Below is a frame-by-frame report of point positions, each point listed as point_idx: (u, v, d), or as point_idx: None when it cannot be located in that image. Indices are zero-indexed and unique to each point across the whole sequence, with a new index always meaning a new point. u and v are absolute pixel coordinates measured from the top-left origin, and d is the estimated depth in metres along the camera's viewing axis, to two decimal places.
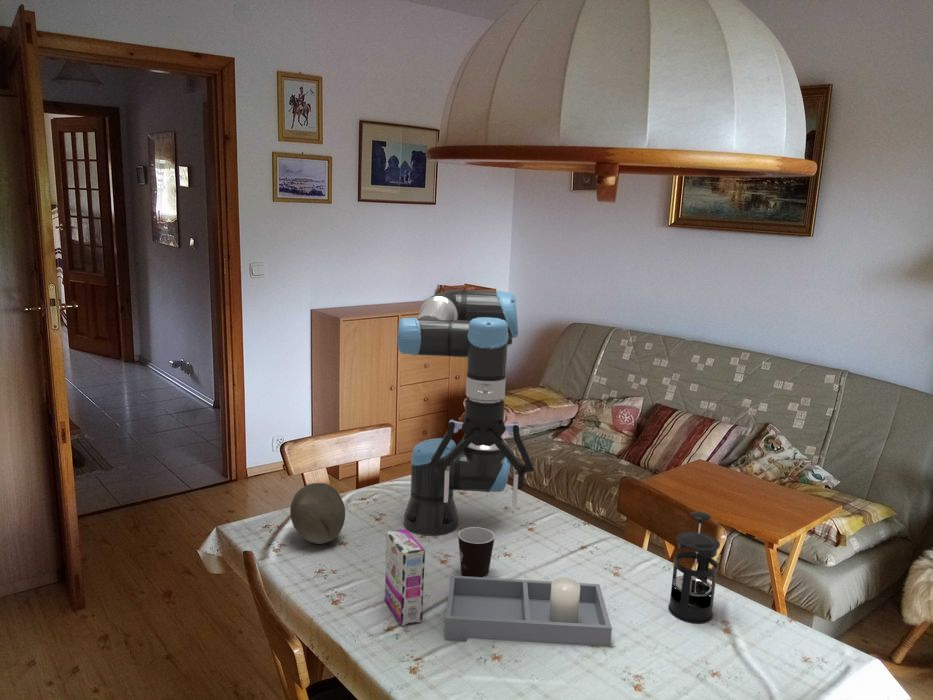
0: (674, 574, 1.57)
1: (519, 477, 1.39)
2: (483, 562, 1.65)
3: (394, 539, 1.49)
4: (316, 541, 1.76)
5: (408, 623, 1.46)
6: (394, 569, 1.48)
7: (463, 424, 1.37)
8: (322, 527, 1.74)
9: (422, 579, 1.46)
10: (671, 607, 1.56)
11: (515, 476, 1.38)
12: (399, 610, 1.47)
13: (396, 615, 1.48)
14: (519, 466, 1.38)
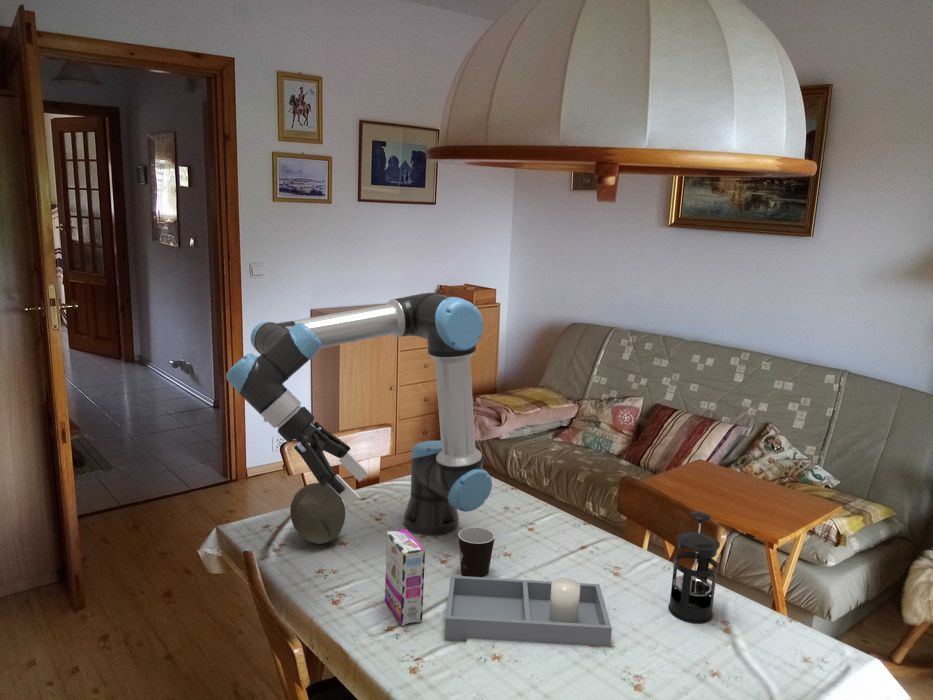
0: (674, 574, 1.57)
1: None
2: (483, 562, 1.65)
3: (394, 539, 1.49)
4: (316, 541, 1.76)
5: (408, 623, 1.46)
6: (394, 569, 1.48)
7: None
8: (322, 527, 1.74)
9: (422, 579, 1.46)
10: (671, 607, 1.56)
11: None
12: (399, 610, 1.47)
13: (396, 615, 1.48)
14: None
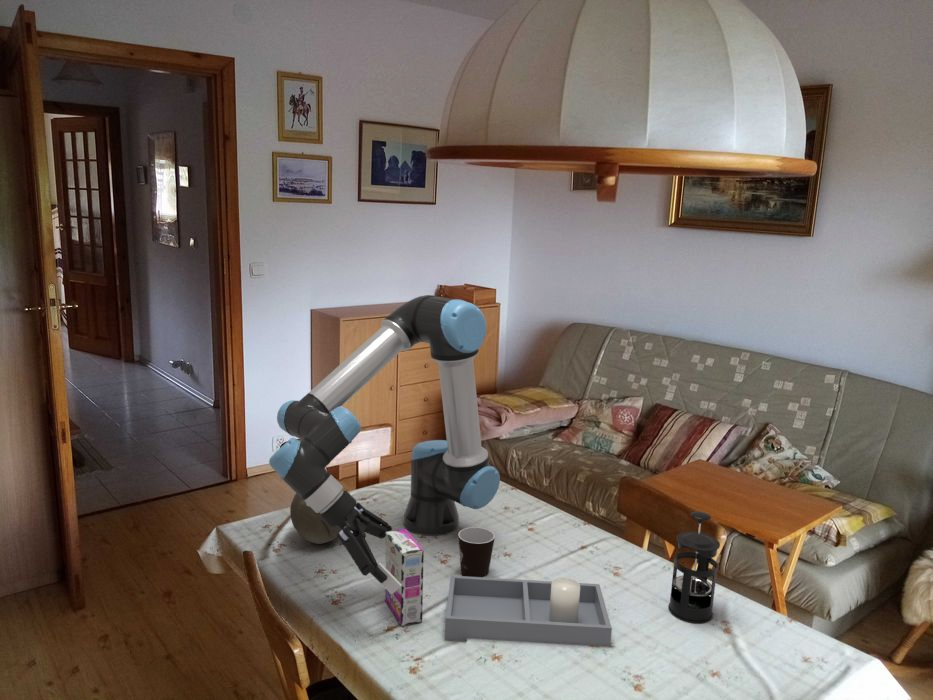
0: (674, 574, 1.57)
1: None
2: (483, 562, 1.65)
3: (393, 539, 1.49)
4: (316, 541, 1.76)
5: (408, 623, 1.46)
6: (394, 569, 1.48)
7: None
8: (322, 527, 1.74)
9: (421, 579, 1.46)
10: (671, 607, 1.56)
11: None
12: (398, 610, 1.47)
13: (396, 615, 1.48)
14: None
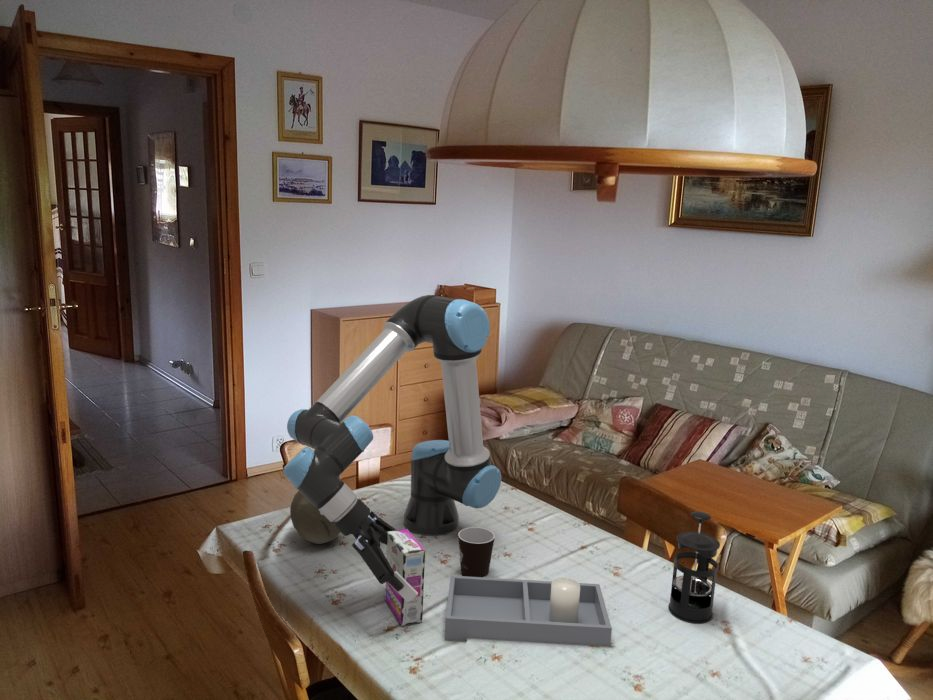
0: (674, 574, 1.57)
1: None
2: (483, 562, 1.65)
3: (394, 539, 1.49)
4: (316, 541, 1.76)
5: (408, 623, 1.46)
6: (395, 569, 1.48)
7: None
8: (322, 527, 1.74)
9: (422, 579, 1.46)
10: (671, 607, 1.56)
11: None
12: (399, 609, 1.47)
13: (396, 615, 1.48)
14: None
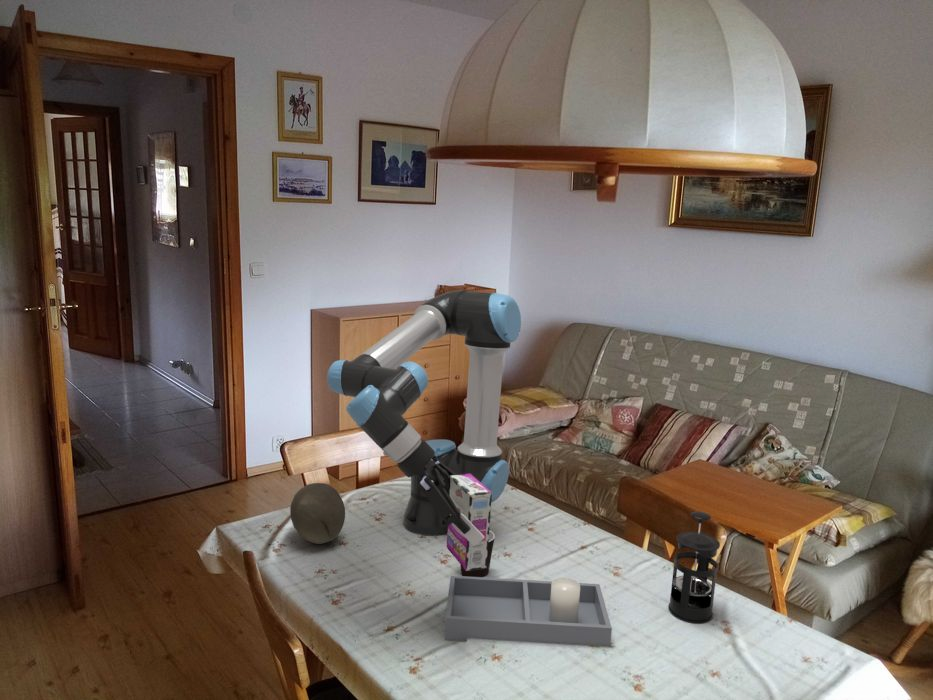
0: (674, 574, 1.57)
1: None
2: None
3: (459, 482, 1.44)
4: (316, 541, 1.76)
5: (473, 568, 1.42)
6: (459, 512, 1.43)
7: None
8: (322, 527, 1.74)
9: (488, 523, 1.41)
10: (671, 607, 1.56)
11: None
12: (463, 554, 1.42)
13: (460, 560, 1.44)
14: None
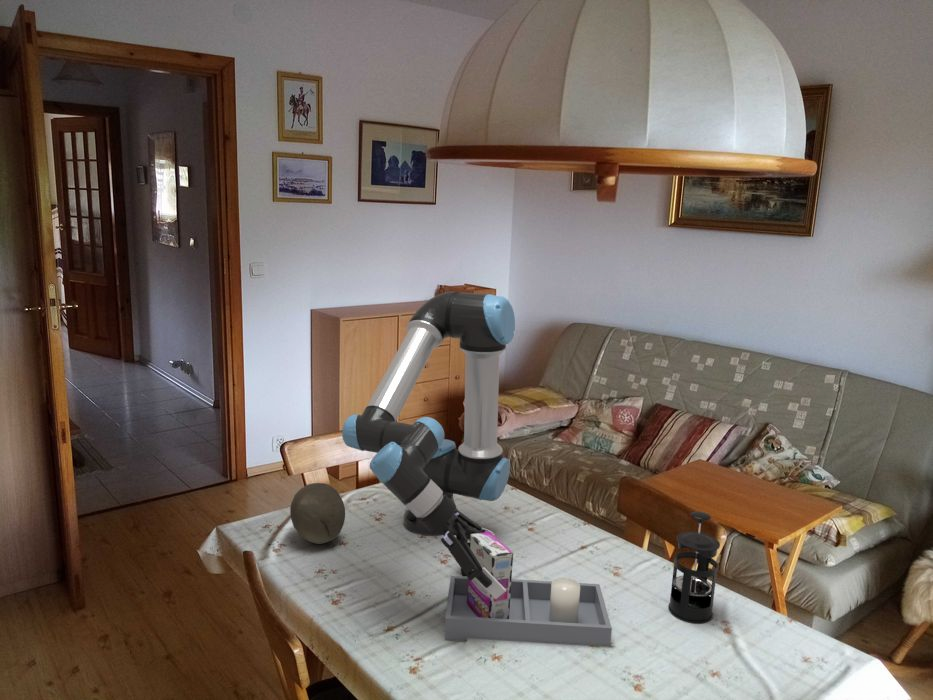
0: (674, 574, 1.57)
1: None
2: None
3: (480, 541, 1.48)
4: (316, 541, 1.76)
5: None
6: None
7: None
8: (322, 527, 1.74)
9: (510, 582, 1.45)
10: (671, 607, 1.56)
11: None
12: (485, 613, 1.46)
13: None
14: None
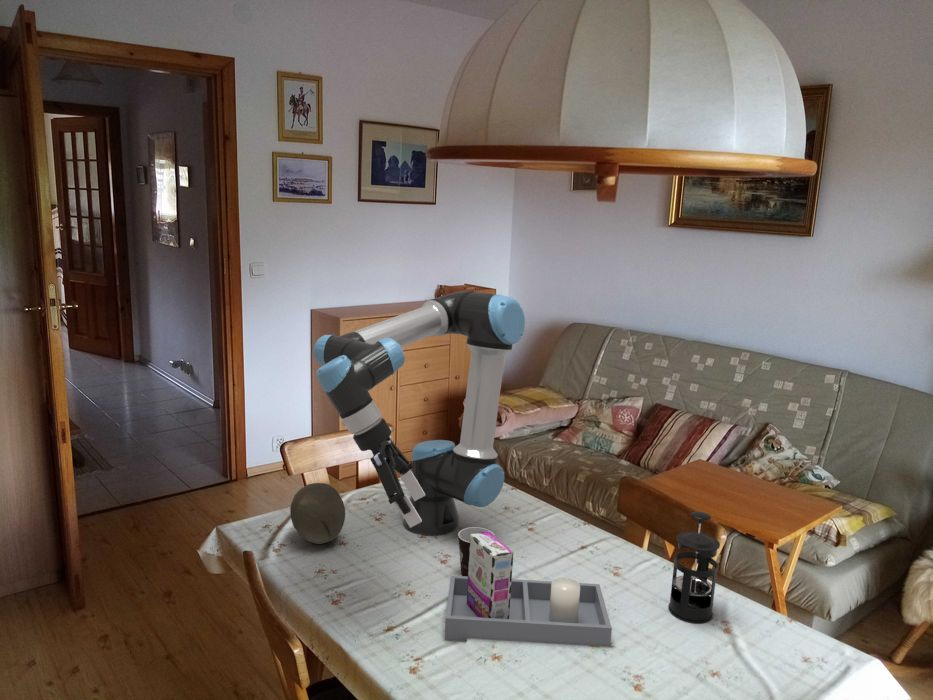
0: (674, 574, 1.57)
1: None
2: None
3: (480, 541, 1.48)
4: (316, 541, 1.76)
5: None
6: (480, 572, 1.47)
7: None
8: (322, 527, 1.74)
9: (510, 582, 1.45)
10: (671, 607, 1.56)
11: None
12: (485, 613, 1.46)
13: None
14: None
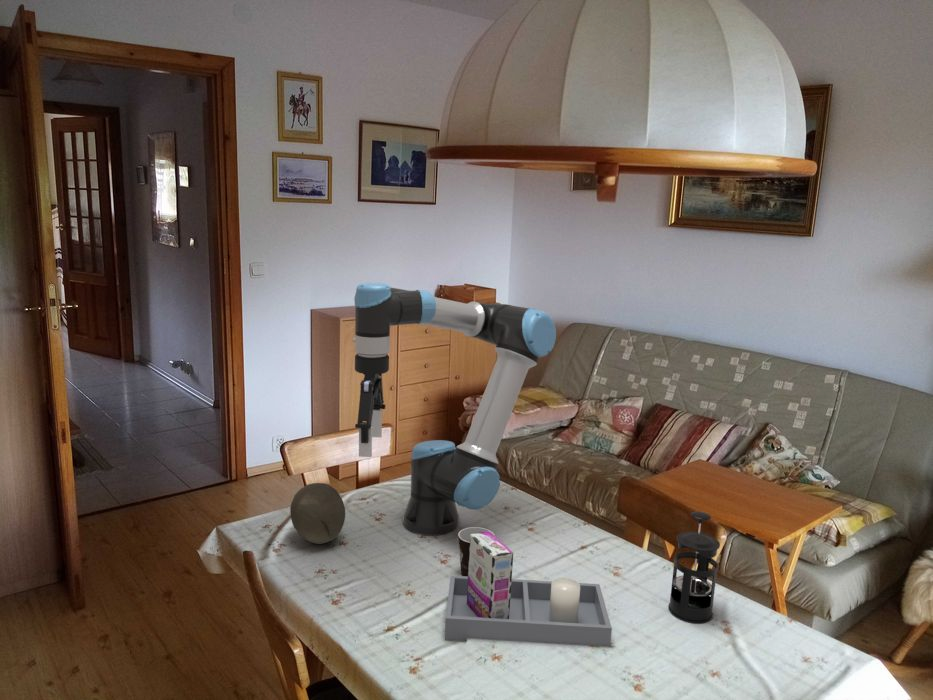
0: (674, 574, 1.57)
1: None
2: None
3: (480, 541, 1.48)
4: (316, 541, 1.76)
5: None
6: (480, 572, 1.47)
7: None
8: (322, 527, 1.74)
9: (510, 582, 1.45)
10: (671, 607, 1.56)
11: (359, 428, 1.52)
12: (485, 613, 1.46)
13: None
14: None
